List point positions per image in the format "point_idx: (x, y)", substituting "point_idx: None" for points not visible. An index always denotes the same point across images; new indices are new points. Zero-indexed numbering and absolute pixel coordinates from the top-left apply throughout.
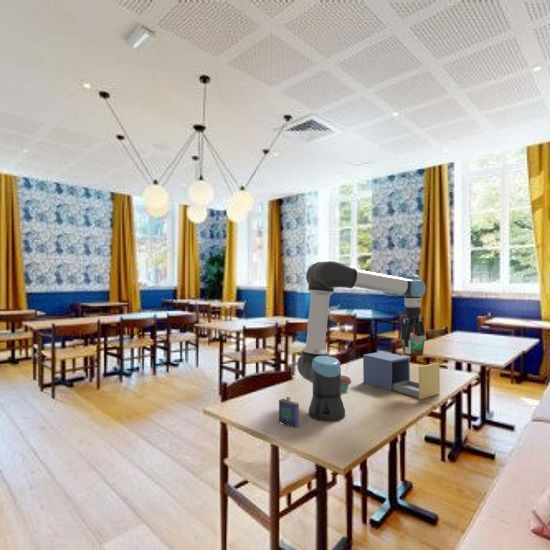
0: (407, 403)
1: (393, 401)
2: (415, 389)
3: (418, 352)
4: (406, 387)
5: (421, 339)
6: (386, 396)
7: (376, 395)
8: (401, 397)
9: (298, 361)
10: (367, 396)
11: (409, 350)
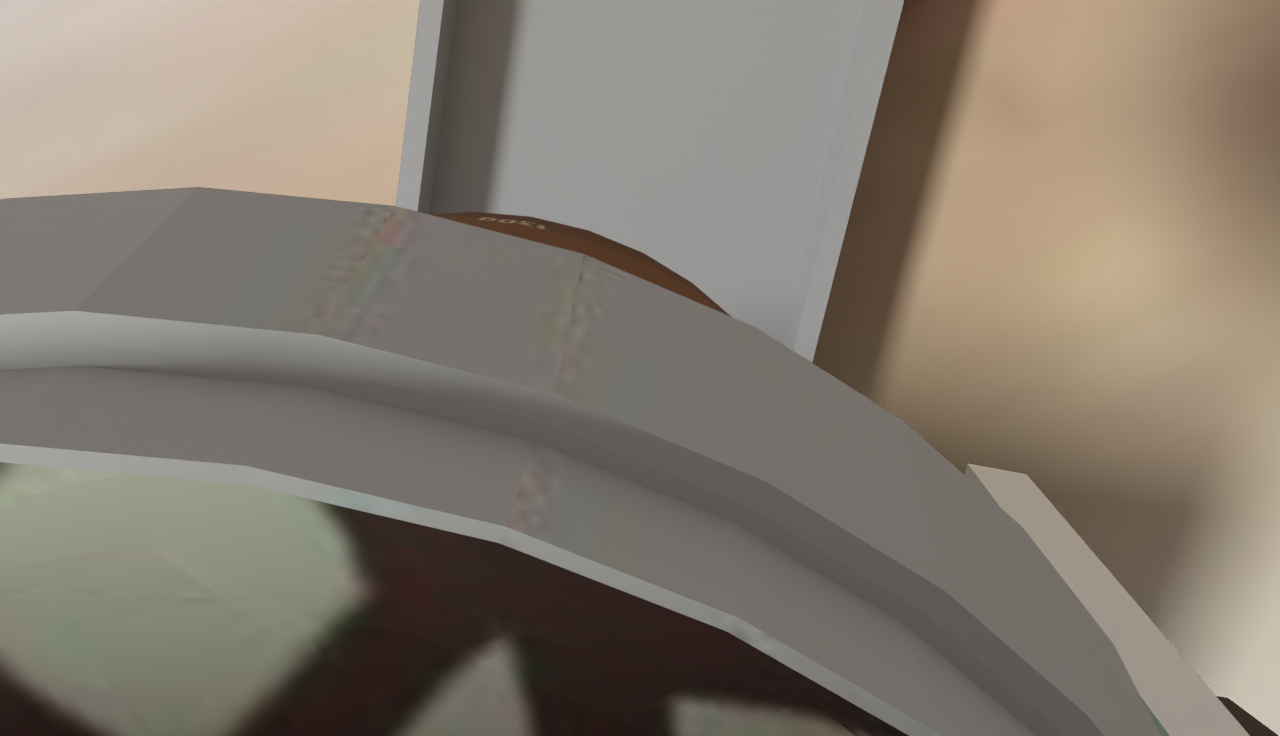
0: (1240, 41)
1: (1268, 242)
2: (587, 225)
3: (684, 289)
4: (811, 293)
5: (672, 319)
6: (1100, 424)
7: (1142, 542)
8: (1008, 246)
9: None
10: (1260, 603)
11: (1074, 547)
